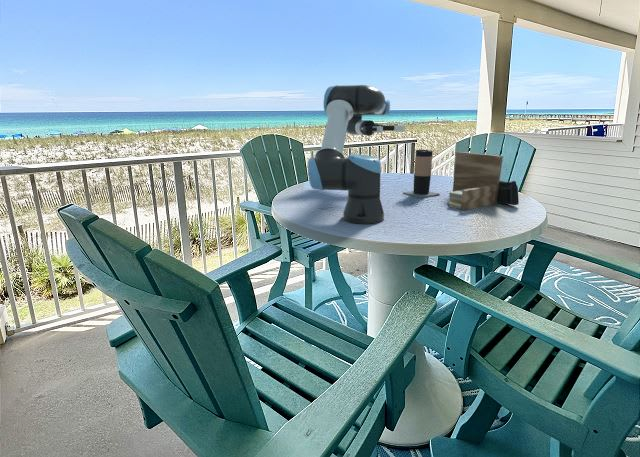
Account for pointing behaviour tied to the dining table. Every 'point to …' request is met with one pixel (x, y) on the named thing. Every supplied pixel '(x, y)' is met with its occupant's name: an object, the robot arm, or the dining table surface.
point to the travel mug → (422, 171)
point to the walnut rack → (477, 179)
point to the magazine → (508, 193)
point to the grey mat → (421, 195)
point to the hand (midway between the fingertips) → (393, 129)
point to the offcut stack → (456, 198)
